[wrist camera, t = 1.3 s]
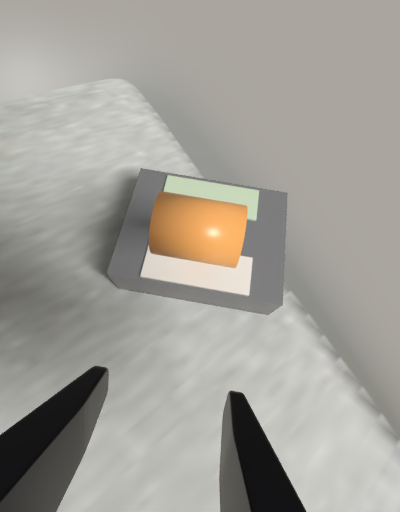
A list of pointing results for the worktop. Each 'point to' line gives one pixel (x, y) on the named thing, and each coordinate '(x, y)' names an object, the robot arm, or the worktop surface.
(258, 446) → the robot arm
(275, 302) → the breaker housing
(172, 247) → the lever
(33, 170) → the worktop surface
